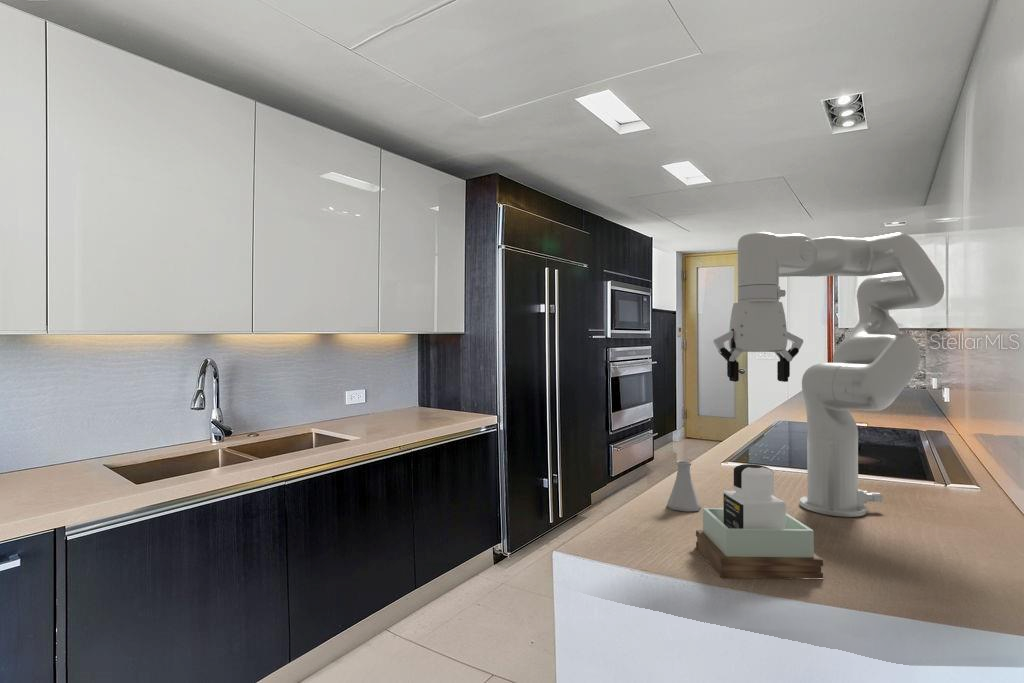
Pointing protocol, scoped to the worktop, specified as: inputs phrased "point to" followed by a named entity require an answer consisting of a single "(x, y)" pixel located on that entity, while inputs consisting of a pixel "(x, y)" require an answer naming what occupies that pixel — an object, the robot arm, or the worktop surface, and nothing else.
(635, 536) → the worktop surface
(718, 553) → the brown wooden flat block
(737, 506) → the medicine bottle
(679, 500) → the flask
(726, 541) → the sage crate
